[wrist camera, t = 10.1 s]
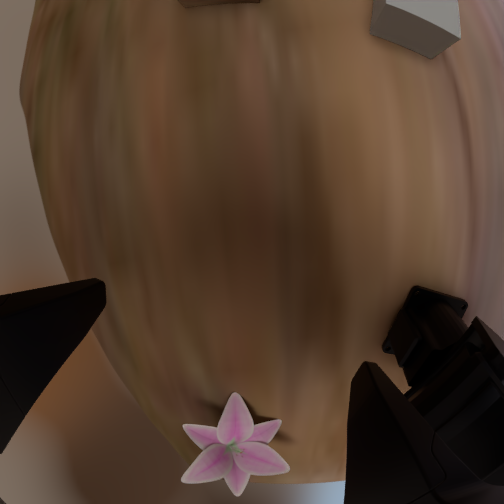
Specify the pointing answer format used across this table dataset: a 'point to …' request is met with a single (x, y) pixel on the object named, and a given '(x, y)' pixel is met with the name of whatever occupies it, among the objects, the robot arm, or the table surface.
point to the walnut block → (212, 2)
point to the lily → (234, 448)
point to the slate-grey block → (417, 24)
